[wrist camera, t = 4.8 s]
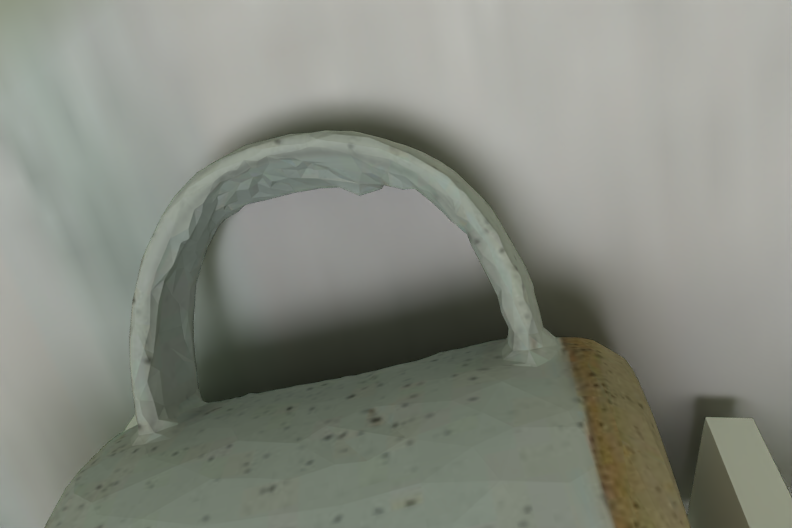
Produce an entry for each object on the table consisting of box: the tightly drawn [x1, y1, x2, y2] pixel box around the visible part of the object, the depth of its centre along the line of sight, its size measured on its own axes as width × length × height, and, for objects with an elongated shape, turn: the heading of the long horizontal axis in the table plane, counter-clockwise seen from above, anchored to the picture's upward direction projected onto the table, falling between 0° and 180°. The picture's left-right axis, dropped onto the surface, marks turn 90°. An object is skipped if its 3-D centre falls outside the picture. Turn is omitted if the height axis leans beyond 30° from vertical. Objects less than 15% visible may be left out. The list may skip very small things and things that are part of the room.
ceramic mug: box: [45, 130, 691, 528], centre depth 10 cm, size 11×8×8 cm
